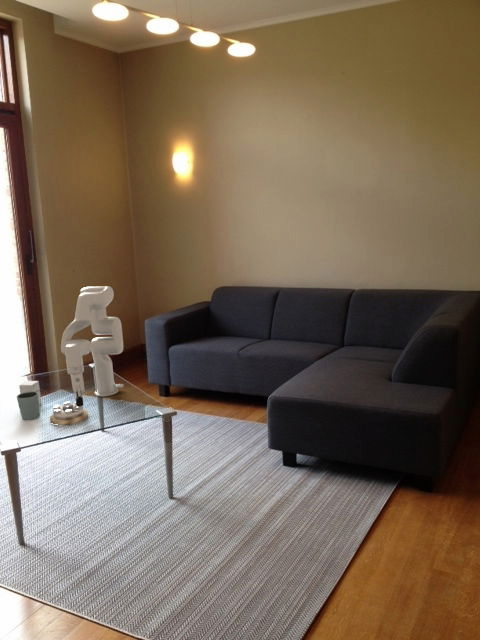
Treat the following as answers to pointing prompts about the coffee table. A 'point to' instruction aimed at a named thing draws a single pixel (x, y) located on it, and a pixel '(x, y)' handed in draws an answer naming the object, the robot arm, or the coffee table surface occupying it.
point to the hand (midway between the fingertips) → (80, 405)
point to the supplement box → (31, 388)
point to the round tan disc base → (70, 421)
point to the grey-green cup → (28, 405)
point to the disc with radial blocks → (67, 411)
